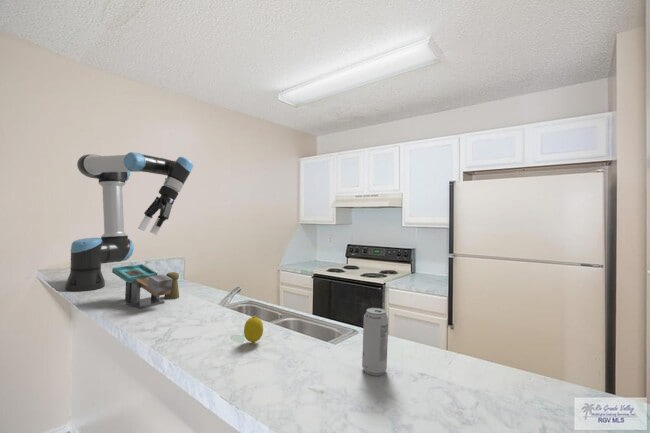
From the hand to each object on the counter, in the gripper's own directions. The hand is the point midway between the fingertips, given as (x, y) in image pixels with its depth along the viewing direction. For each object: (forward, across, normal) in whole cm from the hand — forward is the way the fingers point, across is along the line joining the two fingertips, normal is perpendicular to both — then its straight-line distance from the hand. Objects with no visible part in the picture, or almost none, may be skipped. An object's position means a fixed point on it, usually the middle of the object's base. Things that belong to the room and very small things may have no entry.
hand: (146, 231), depth 138 cm
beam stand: (+27, +8, +9) cm, 30 cm away
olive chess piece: (+22, +9, +20) cm, 31 cm away
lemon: (+21, +74, +14) cm, 78 cm away
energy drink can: (+14, +108, +23) cm, 112 cm away
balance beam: (+20, +10, +6) cm, 23 cm away
